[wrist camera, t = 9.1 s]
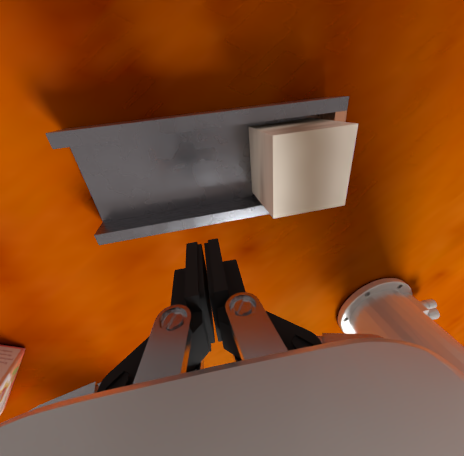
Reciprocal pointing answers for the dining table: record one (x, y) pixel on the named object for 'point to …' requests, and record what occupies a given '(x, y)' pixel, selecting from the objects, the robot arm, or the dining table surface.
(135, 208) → the grey shallow tray
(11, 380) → the cracker box
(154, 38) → the dining table surface
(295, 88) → the dining table surface
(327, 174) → the block
